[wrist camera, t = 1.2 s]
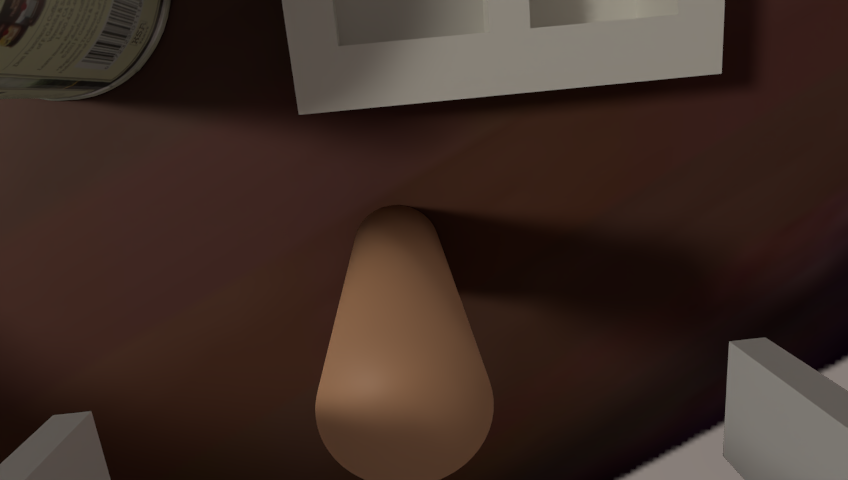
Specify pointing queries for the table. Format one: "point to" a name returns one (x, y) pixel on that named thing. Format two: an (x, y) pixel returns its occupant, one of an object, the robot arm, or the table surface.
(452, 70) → the bore block
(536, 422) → the table surface
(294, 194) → the table surface
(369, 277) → the pin
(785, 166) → the table surface
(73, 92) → the coffee can
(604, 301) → the table surface
